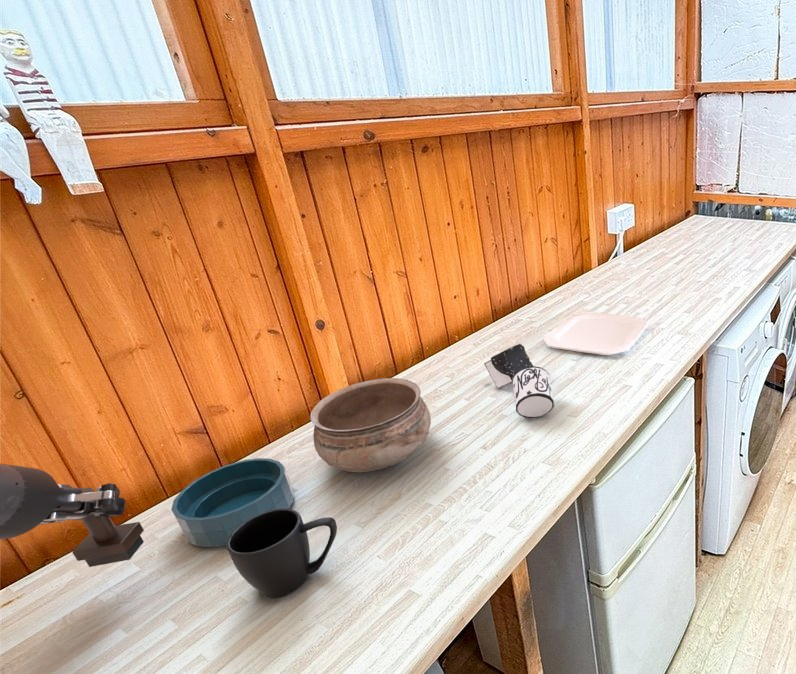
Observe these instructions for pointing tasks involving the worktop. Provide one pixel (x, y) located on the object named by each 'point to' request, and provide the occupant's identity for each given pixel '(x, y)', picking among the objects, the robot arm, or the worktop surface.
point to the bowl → (230, 499)
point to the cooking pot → (370, 424)
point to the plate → (596, 333)
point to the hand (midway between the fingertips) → (107, 509)
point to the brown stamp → (108, 541)
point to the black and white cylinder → (522, 381)
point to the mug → (276, 550)
